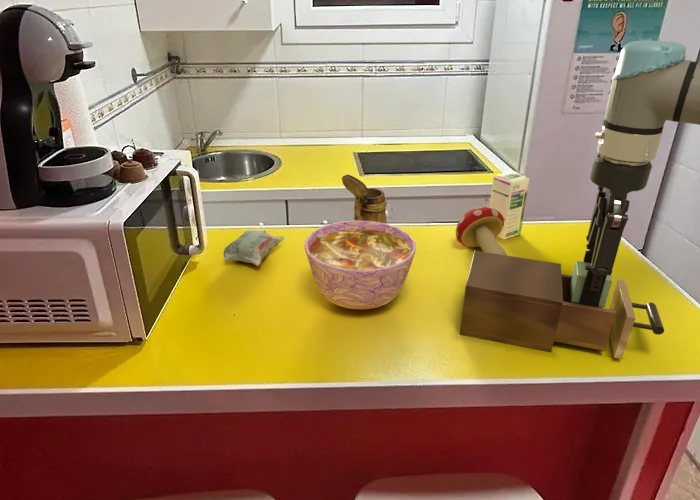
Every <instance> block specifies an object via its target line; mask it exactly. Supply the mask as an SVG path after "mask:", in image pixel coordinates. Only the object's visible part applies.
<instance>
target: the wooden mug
mask: <svg viewBox="0 0 700 500" xmlns="http://www.w3.org/2000/svg"><path fill="white" fill-rule="evenodd" d="M341 182H342V185H343V186H344V188H345V189H346V190H347V191H349V193H351V194H352V195H354V197H355V200H354V207H353V215H354V217H353V220H357V221H374V222H380V223H385V224H388V223H387V211H386V207H387V199H386V197H385V192H384V191H383V190H381V189H379V188H376V187H375V188H374V187H367V185H366V184H365V183H364V182H363V181H361V180H360V179H359V178H357V177H355V176H353V175H350V174H345V175H343V176H342V177H341Z"/></svg>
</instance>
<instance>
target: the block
mask: <svg viewBox="0 0 700 500" xmlns="http://www.w3.org/2000/svg"><path fill="white" fill-rule="evenodd" d="M585 265H587V266H590V265H591V263H587V262H583V261H580V260H576V261H575V264H574V268H573V272H572V274H571V275H572V279H571V283H570V295H571V302H576V303H579V301H580V297H581V294H582V290H583V286H584V282H585V278H586V274H587V270H585ZM612 283H613V278H612V274H611V275H607V277H606V280H605V284H604V288H603V291H602V295H601V298H600V302H599V305H598V306H599V307H602V308H606V304H607V300H608V297H609V293H610V290H611V287H612Z"/></svg>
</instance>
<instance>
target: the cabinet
mask: <svg viewBox="0 0 700 500" xmlns="http://www.w3.org/2000/svg"><path fill="white" fill-rule="evenodd" d="M468 271H469V272H468V276H467V279H466V283H465V289H464V290H465V291H464V295H463V305H462V312H461V319H460V327H459V335H461V336H466V337H470V338H476V339H480V340H486V341H490V342H496V343H501V344H506V345H511V346H517V347H521V348H527V349H532V350H537V351H542V352H548V353H552V352H553V351H552V350H553V347H554V342H555V341H554V338H555V334H556V330H557V326H558V321H559V317H560V313H561V309H562V305H563V292H562V276H561V274H562V264H561V263H559V262H552V261H546V260H539V259H533V258H526V257H521V256H520V257H519V256H514V255H513V256H512V255H508V254H507V255H500V254H493V253H487V252H483V251H479V250H474V252H473V256H472V259H471V263H470V268H469V270H468Z"/></svg>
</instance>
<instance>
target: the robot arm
mask: <svg viewBox="0 0 700 500" xmlns="http://www.w3.org/2000/svg"><path fill="white" fill-rule="evenodd" d="M686 51H687V47H686V45H685V44H683V43H680V42H674V41H665V40H648V39H647V40H646V39H645V40H644V39H643V40H633V41H630V42H628V43H626V44H625V45H624V46H623V47H622V49H621V51H620V55H619V57H618V58H619V59H618V62H617V64H616V67H615V68H616V69H615V72H614V75H613V76H612V80H611V86H610V91H609V93H608V99H607V104H606V108H605V112H604V117H603V120H602V127H601V130H602V131H597V132H596V133H595V136H594V138H595V139H597V140H598V144H597V147H596V152H597V155H595V156H594V158H593V162H592V166H591V171H590V176H589V178H590V181H591V182H592V184H594V185H595V186H597V193H596V195H595V196H596V198H595V199H596V200H595V203H594V208H593V210H592V211H593V212H592V216H591V219H590V223H589V227H588V232H587V235H586V237H585V239H586V242H587V243H586V244H585V247H586V250H585V252H584V256H583V260H582V262H587V263H591V265H590V266H587V265H585V270H587V274H586V278H585V282H584V286H583V290H582V294H581V297H580V301H579V304H581V305H587V306H593V307H598V305H599V302H600V298H601V295H602V291H603V288H604V284H605V280H606V277H607V275H611V276H612V274H613V269H614V266H615V261H616V258H617V255H618V251H619V247H620V245H621V244H620V243H621V240H622V236H623V233H624V231H625V227H626V225H627V222H628V220H629V215H628V214H626V213H627V212H628V211H629V208H630V200H628V199H627V198H628V195H629V194H630V193H632V192H639V191H642V190H644V189H646V187H647V184H648V181H649V179H650V174H651V172H652V169H653V164H652V163H651V161H653V160H655V159H656V157H657V152H658V149H659V145H660V142H661V139H662V135H663V132H664V131H663V130H664V127H665V126H664V125H665V123H666V121H669V122H675V123H684V124H689V125H690V124H691V125H698V126H700V62H699V61H692V60H688V59H686V58H687V56H686V53H687V52H686Z"/></svg>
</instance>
